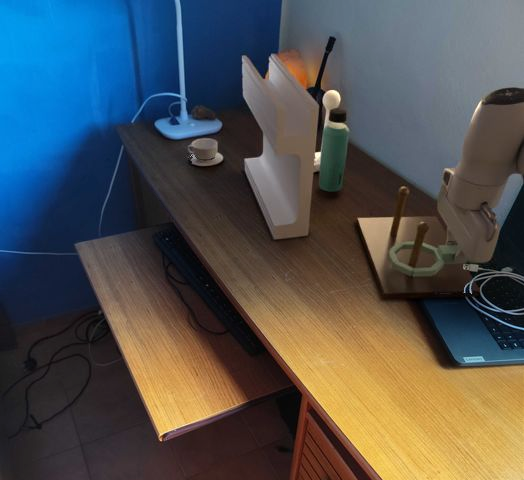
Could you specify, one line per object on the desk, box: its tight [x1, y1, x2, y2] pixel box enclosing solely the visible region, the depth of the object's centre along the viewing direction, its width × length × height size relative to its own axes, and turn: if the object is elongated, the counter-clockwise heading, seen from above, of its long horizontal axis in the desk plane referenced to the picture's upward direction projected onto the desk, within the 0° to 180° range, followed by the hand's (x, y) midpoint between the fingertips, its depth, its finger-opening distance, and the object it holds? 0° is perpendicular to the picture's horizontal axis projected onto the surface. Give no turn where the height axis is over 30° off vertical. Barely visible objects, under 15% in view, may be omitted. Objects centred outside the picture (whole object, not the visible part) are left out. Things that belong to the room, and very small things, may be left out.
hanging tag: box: [388, 241, 469, 277], centre depth 93 cm, size 15×10×2 cm
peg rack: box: [356, 186, 481, 300], centre depth 97 cm, size 19×28×13 cm
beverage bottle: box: [317, 107, 350, 193], centre depth 114 cm, size 6×7×20 cm
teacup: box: [187, 137, 224, 167], centre depth 132 cm, size 10×10×5 cm
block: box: [241, 53, 320, 240], centre depth 108 cm, size 35×8×28 cm, turn 13°
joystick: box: [313, 89, 341, 173], centre depth 123 cm, size 11×8×20 cm
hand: (453, 254), depth 93 cm, fingers closed on hanging tag, 3 cm apart
